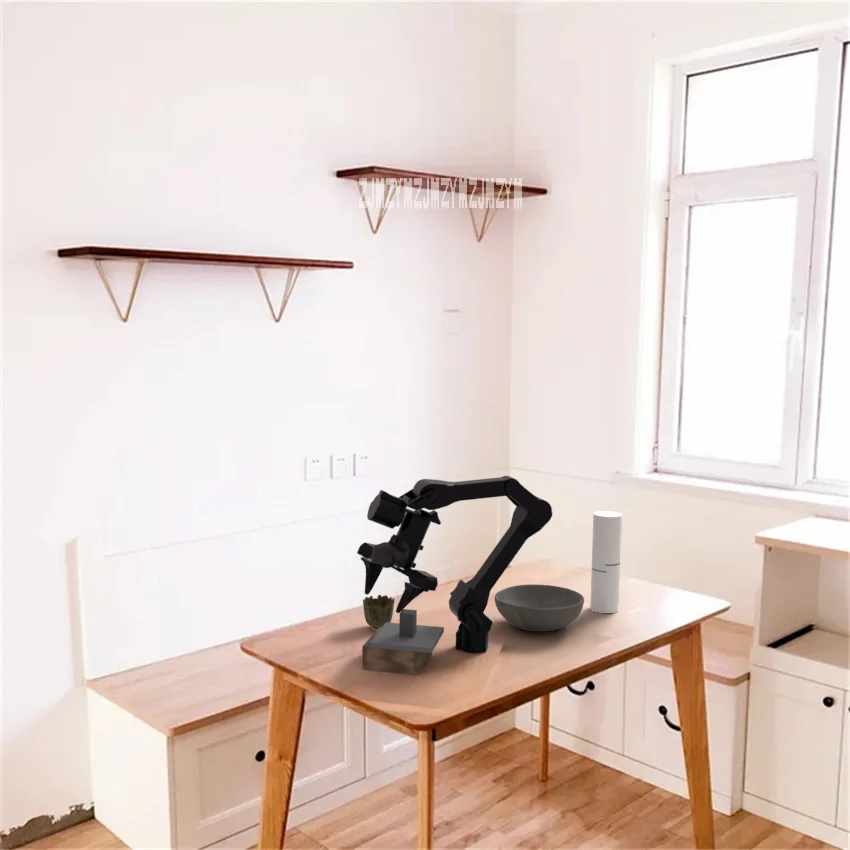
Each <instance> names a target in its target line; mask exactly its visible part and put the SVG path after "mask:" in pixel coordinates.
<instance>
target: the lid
mask: <svg viewBox="0 0 850 850" xmlns="http://www.w3.org/2000/svg"><path fill="white" fill-rule="evenodd" d="M417 613H418V610H417V609H408V608H407V609H406V608H404V609H403V610H402V611H401V612H400V613H399V621H398V622H390V623H388V622H386V623H385V624H384V625H383V627H382V628H381V629H380V631H379V632H378V633H377V634H376V636H375V637H374V638H373V639H372V641H371V642H370V647H371V648H382V649H393V650H404V651H415V652H426V653H432V654H433V652H434V650H435V648H436V646H437V644H438V643H439V641H440V639H441V637H442V636H443V634H444V632H445V627H444V626H436V625H435V626H433V625H424V624H423V625H422V624H421V625H419V624H417V621H418V620H417V616H418V614H417Z"/></svg>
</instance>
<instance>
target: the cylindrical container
mask: <svg viewBox="0 0 850 850" xmlns="http://www.w3.org/2000/svg"><path fill="white" fill-rule="evenodd" d="M592 514H593V516H592V519H593V521H592V543H591V544H592V545H591V546H592V549H591V550H592V551H591V572H590V573H591V574H590V576H591V577H590V578H591V579H590V605H589V609H590V610H591V611H592V610H593V611H592V612H594V611H595V612H594V613H597V612H599V613H598V614H601V613H613V614H617V613H618V612H619V611H618V610H619V605H620V584H621V583H620V582H621V581H620V580H621V559H622V558H621V557H622V555H621V554H622V553H621V552H622V530H623V529H622V527H623V514H622V513H621V512H617V511H609V510H600V511H599V510H598V511H595V512H593V513H592ZM616 612H617V613H616Z"/></svg>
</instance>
